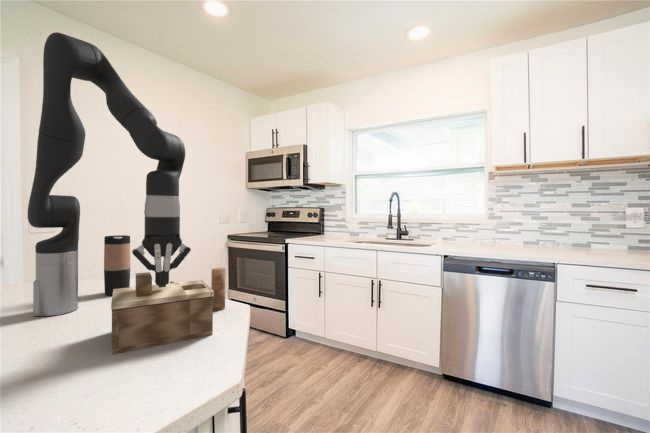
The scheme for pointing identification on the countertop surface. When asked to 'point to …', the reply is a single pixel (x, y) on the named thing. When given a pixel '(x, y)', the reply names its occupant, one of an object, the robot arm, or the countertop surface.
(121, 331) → the wooden box
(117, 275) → the travel mug
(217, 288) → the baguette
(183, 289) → the lid
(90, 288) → the countertop surface
